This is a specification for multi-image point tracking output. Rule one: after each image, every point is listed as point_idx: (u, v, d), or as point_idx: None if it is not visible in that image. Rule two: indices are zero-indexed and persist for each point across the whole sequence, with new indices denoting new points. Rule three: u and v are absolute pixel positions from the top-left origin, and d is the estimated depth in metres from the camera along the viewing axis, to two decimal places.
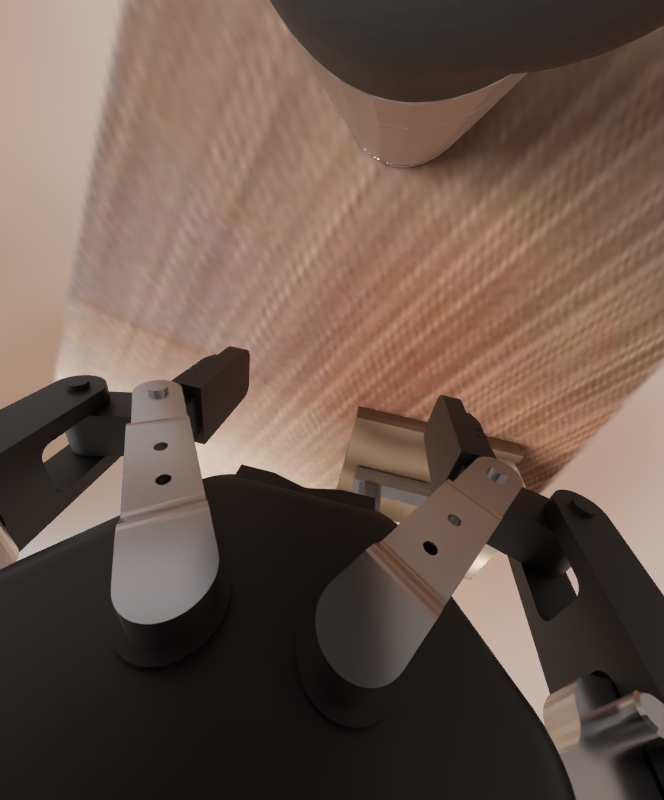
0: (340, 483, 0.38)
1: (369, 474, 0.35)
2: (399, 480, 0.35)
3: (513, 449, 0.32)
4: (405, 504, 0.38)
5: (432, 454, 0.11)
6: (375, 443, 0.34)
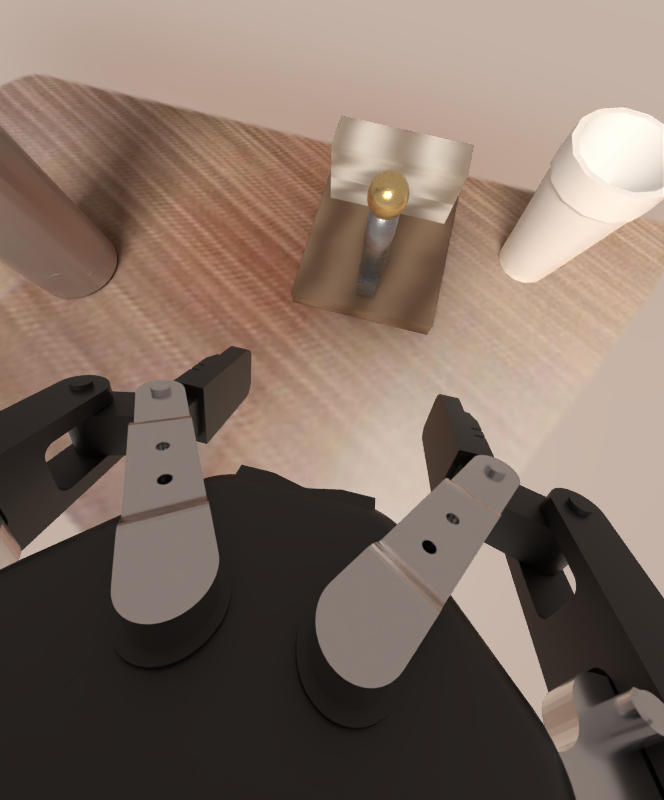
0: (389, 314, 0.32)
1: None
2: None
3: None
4: (413, 249, 0.34)
5: (430, 453, 0.11)
6: (323, 277, 0.33)
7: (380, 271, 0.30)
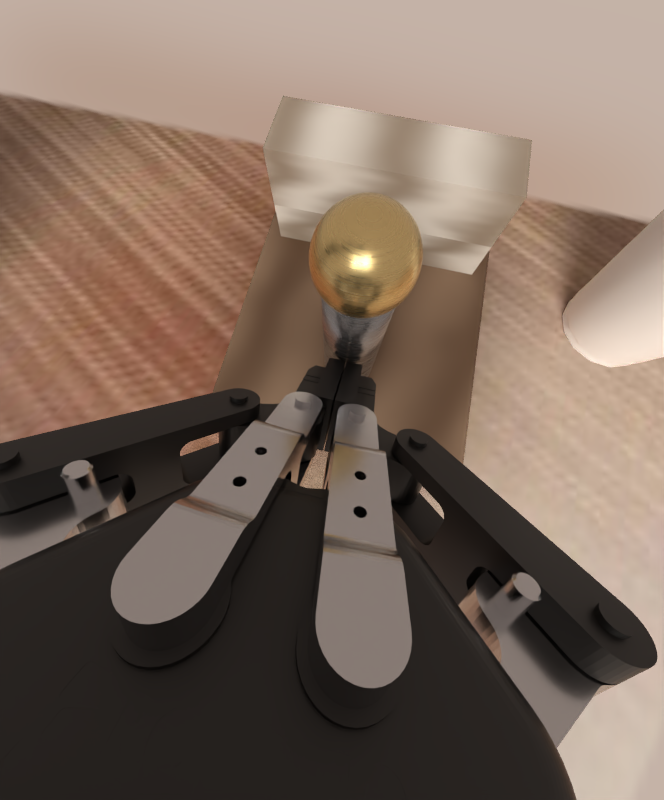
0: None
1: None
2: None
3: None
4: (421, 321, 0.20)
5: None
6: (266, 377, 0.19)
7: None
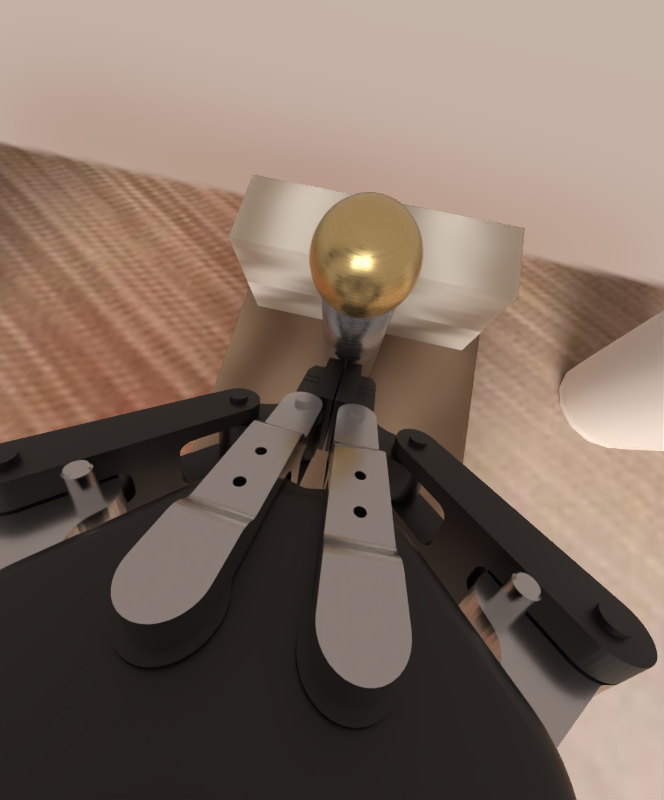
0: None
1: None
2: None
3: None
4: (406, 404, 0.19)
5: None
6: None
7: None
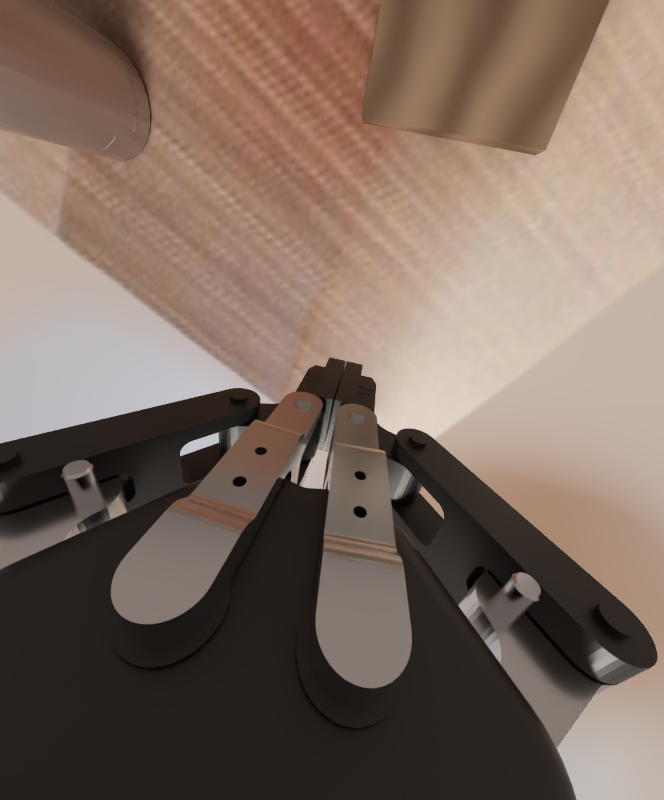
0: (489, 136, 0.25)
1: None
2: None
3: None
4: None
5: None
6: (405, 77, 0.24)
7: None
